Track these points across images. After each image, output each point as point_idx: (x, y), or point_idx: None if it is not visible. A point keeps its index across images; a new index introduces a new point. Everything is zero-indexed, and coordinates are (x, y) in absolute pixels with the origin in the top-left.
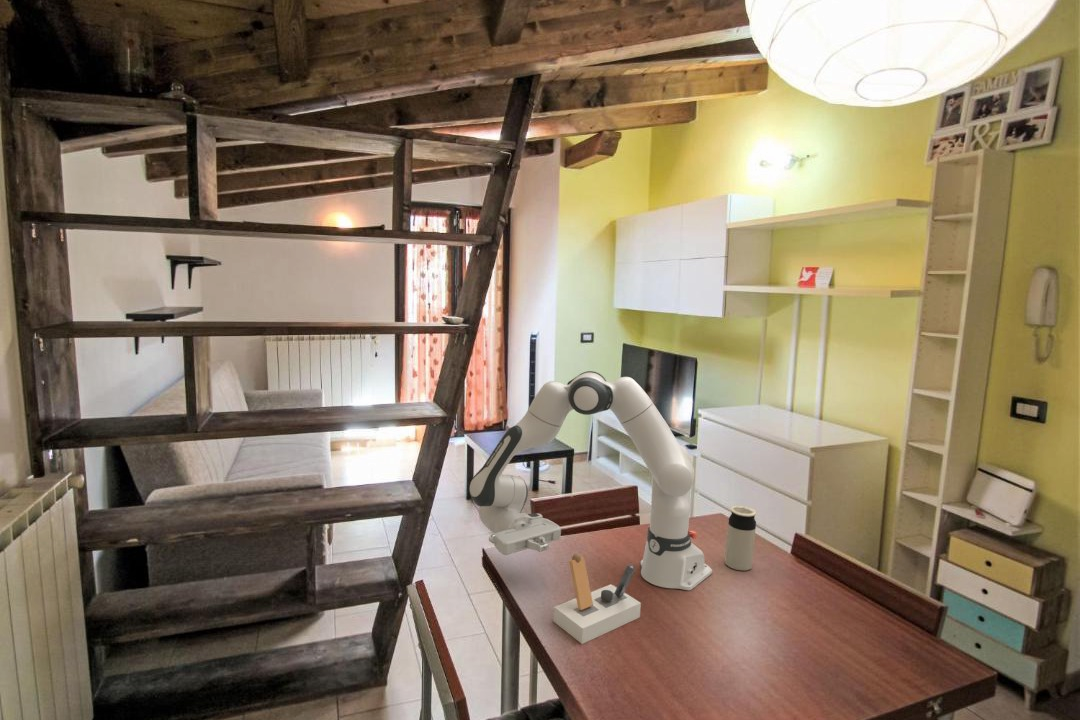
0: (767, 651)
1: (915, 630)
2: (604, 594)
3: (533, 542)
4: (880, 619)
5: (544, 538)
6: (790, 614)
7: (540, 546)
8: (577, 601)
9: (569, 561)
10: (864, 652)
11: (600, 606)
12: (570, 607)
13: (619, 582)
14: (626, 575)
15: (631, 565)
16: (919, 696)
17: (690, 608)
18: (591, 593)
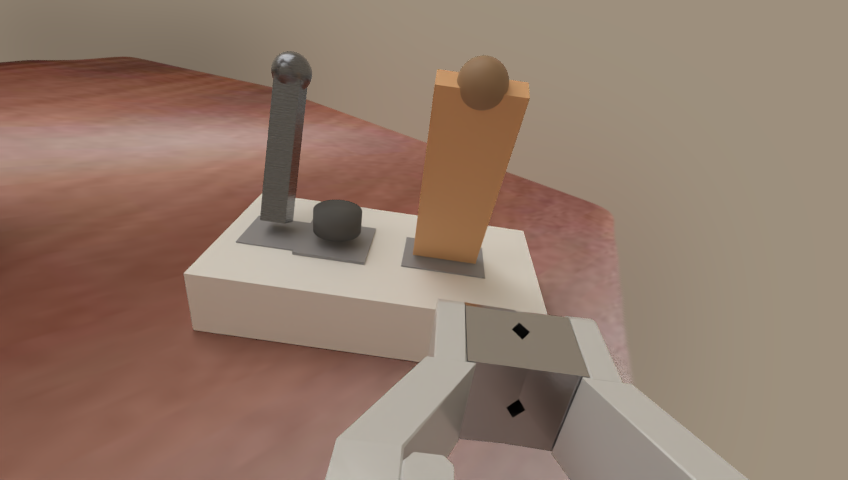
0: (226, 124)
1: (30, 63)
2: (354, 211)
3: (680, 438)
4: (5, 72)
5: (358, 422)
6: (46, 112)
7: (586, 319)
8: (481, 241)
9: (528, 101)
10: (143, 85)
11: (383, 242)
12: (487, 290)
13: (292, 158)
14: (303, 101)
15: (291, 51)
16: (219, 76)
17: (122, 190)
18: (329, 288)
